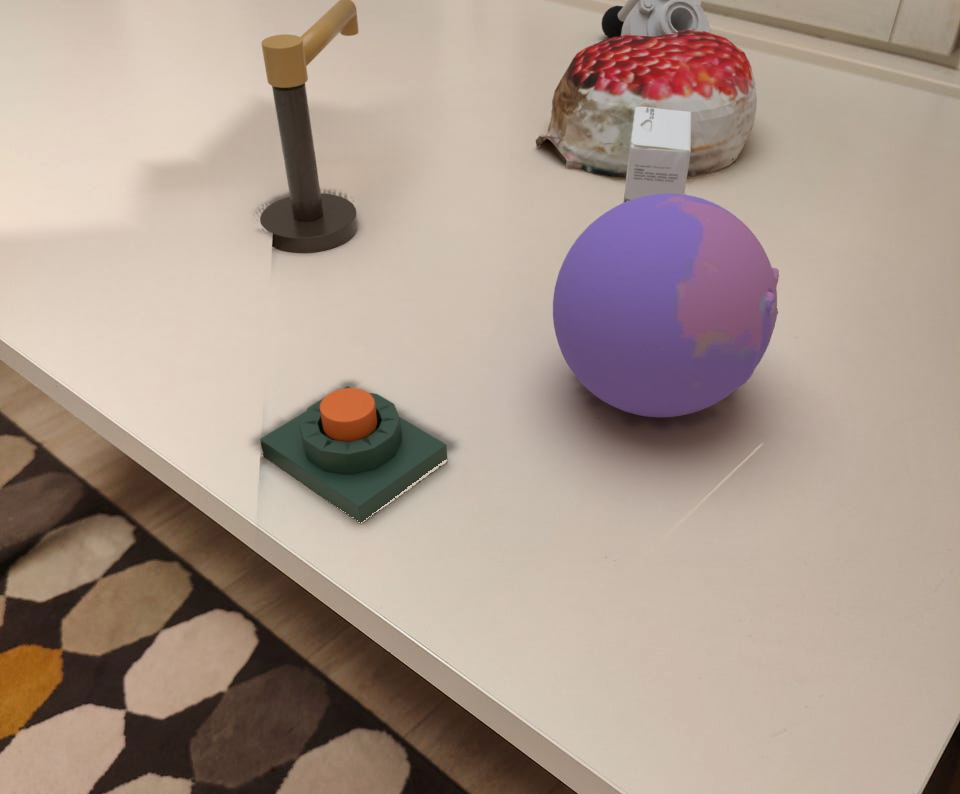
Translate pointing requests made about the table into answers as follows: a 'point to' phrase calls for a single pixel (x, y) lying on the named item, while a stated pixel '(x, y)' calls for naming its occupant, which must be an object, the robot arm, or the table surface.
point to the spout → (306, 45)
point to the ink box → (658, 153)
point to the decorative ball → (665, 305)
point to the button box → (354, 458)
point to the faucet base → (304, 186)
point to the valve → (654, 18)
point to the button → (348, 414)
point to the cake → (653, 99)
